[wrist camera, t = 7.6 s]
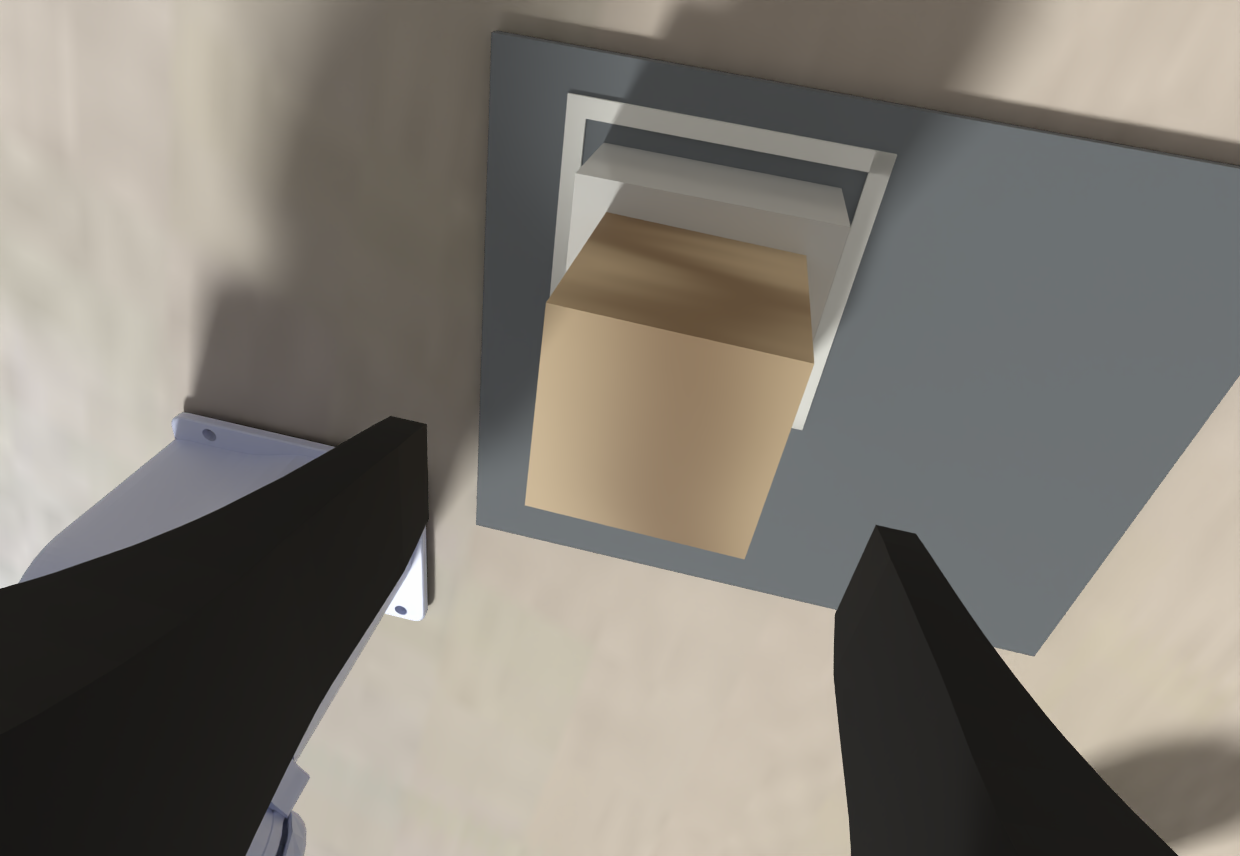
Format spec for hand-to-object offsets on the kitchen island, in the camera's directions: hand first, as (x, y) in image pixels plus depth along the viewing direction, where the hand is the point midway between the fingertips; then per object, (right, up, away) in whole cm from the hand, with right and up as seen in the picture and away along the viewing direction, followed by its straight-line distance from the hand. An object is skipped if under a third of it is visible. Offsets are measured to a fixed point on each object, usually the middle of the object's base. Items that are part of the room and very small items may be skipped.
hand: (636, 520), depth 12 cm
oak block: (+1, +4, +6) cm, 7 cm away
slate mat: (+5, +3, +10) cm, 11 cm away
